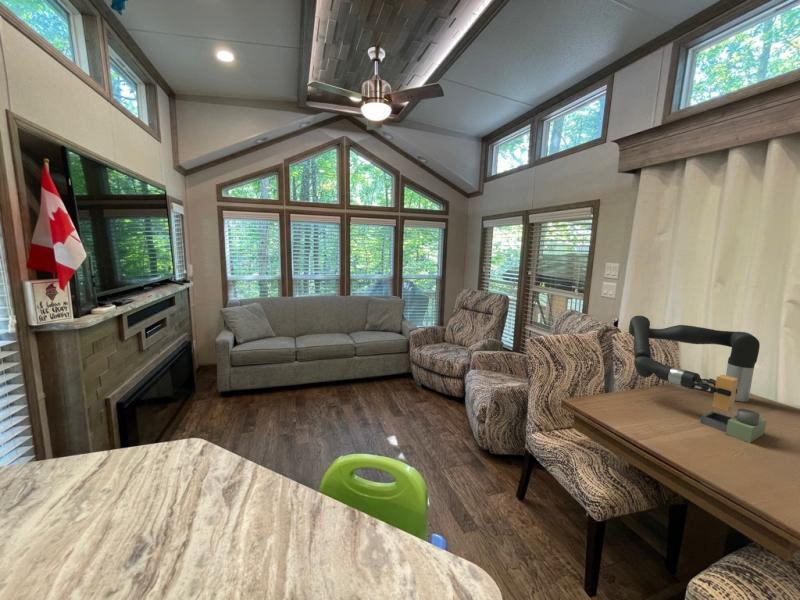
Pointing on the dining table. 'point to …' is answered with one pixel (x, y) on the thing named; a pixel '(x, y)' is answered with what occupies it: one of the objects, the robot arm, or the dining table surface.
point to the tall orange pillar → (723, 400)
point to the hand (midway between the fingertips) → (733, 392)
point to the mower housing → (746, 425)
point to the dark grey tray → (709, 420)
